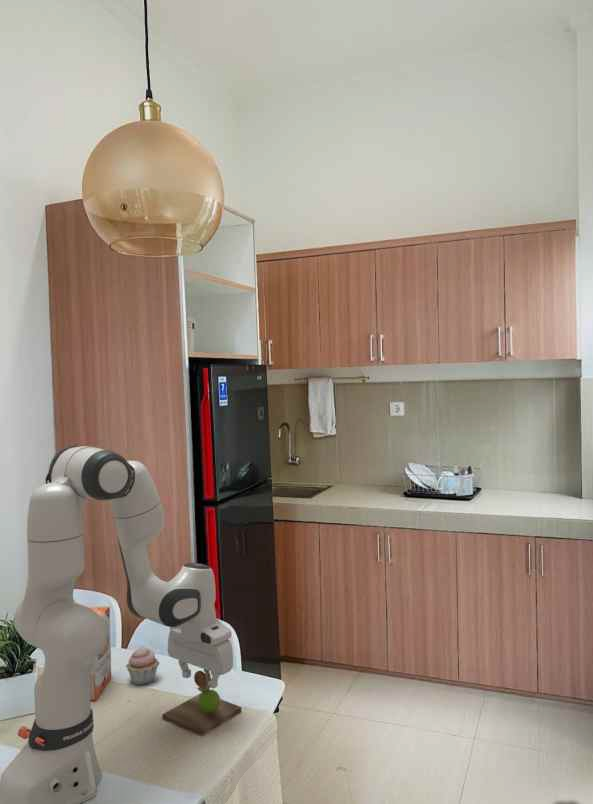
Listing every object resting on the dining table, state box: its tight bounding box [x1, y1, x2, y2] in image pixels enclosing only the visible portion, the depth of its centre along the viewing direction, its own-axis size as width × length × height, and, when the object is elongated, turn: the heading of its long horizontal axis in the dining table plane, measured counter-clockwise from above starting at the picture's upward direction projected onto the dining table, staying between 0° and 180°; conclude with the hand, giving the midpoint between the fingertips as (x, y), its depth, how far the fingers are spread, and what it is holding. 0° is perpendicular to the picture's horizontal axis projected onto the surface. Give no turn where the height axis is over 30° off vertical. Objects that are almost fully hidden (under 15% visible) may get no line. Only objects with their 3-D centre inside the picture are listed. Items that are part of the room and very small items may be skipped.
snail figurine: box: [193, 669, 221, 713], centre depth 164 cm, size 5×6×12 cm
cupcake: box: [125, 644, 160, 686], centre depth 186 cm, size 9×9×10 cm
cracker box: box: [89, 605, 112, 701], centre depth 182 cm, size 14×6×21 cm, turn 179°
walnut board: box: [162, 692, 242, 737], centre depth 166 cm, size 14×14×1 cm
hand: (199, 682), depth 165 cm, fingers open, 8 cm apart
